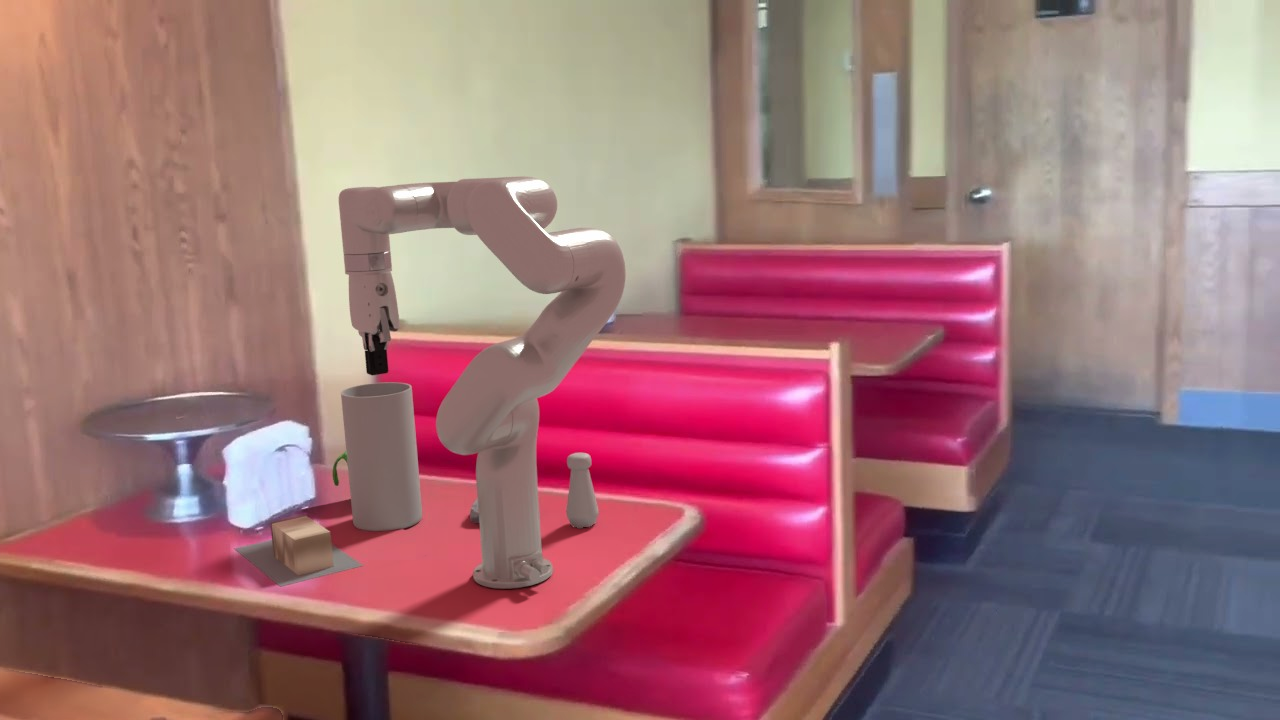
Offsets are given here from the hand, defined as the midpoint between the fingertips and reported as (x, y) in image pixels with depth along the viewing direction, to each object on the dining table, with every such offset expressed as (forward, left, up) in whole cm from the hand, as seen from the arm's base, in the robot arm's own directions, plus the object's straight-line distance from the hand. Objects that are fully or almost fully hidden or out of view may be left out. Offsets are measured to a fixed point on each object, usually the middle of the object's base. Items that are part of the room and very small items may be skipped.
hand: (377, 373), depth 205 cm
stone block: (+4, -23, -32) cm, 39 cm away
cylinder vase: (+16, -6, -31) cm, 36 cm away
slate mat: (+8, +14, -31) cm, 35 cm away
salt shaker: (-10, -32, -31) cm, 46 cm away
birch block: (+11, +14, -28) cm, 33 cm away
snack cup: (+31, -10, -31) cm, 45 cm away
